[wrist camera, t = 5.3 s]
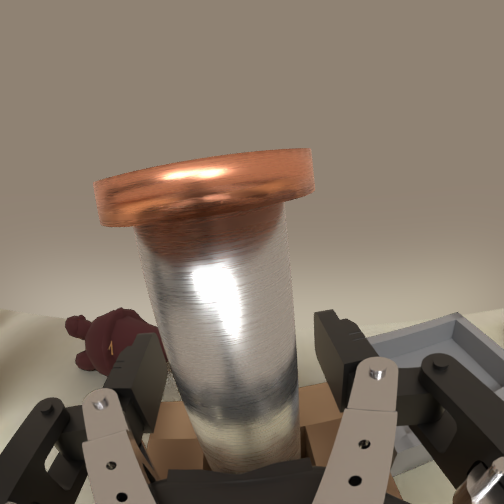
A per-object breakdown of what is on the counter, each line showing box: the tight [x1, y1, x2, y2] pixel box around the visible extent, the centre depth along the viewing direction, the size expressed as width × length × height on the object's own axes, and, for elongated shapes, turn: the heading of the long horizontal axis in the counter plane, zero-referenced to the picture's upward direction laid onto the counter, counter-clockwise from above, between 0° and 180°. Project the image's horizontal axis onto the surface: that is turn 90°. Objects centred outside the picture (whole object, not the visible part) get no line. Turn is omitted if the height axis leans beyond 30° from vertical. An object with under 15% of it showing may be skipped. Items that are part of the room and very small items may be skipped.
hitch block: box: [147, 382, 403, 500], centre depth 12 cm, size 12×12×4 cm
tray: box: [367, 312, 504, 477], centre depth 17 cm, size 12×11×3 cm
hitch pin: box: [93, 148, 315, 474], centre depth 10 cm, size 6×6×17 cm
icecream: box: [65, 308, 168, 376], centre depth 24 cm, size 7×7×15 cm
